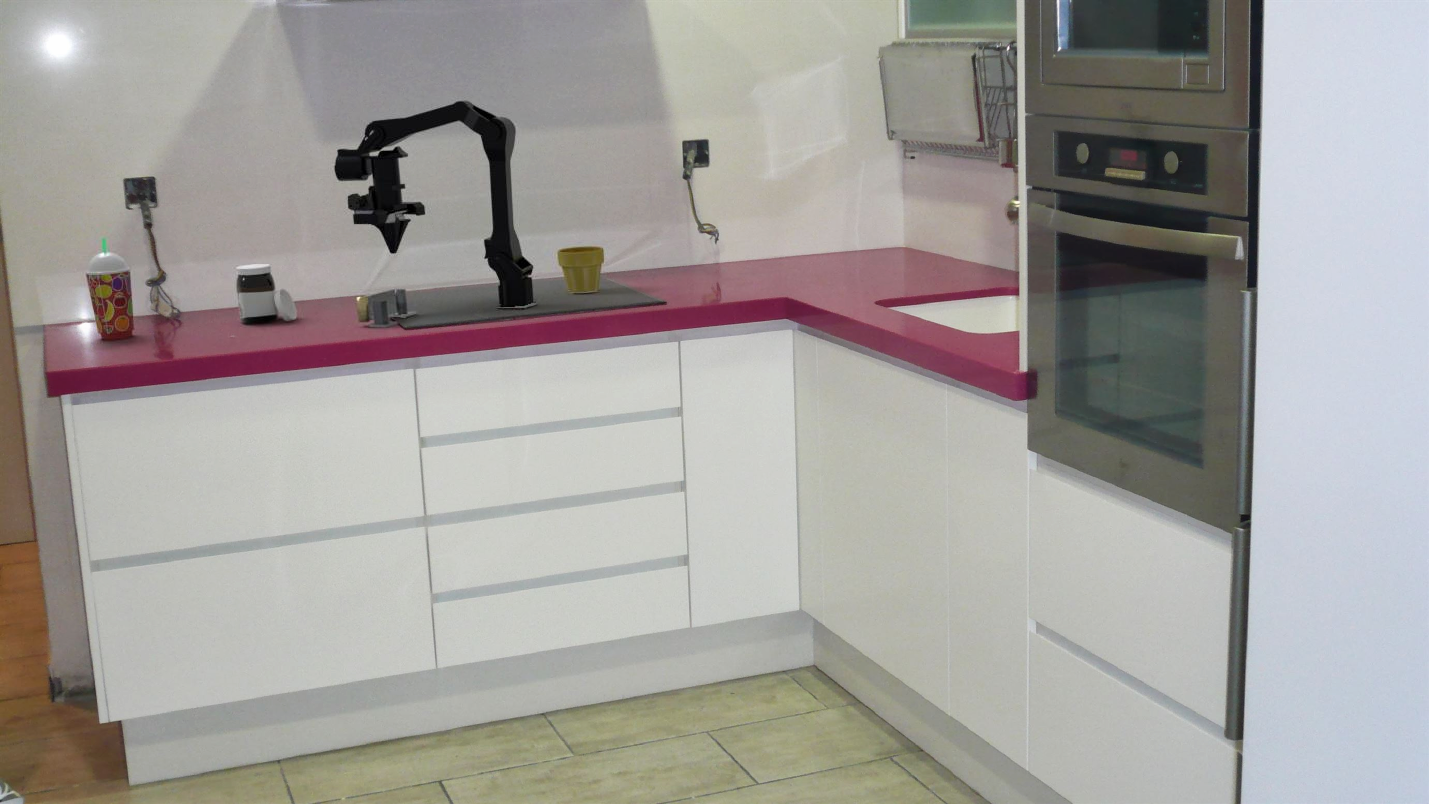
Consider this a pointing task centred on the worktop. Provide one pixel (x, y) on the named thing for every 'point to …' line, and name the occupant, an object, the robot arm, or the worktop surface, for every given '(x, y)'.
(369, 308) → the gate
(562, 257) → the plant pot
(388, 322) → the post
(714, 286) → the worktop surface
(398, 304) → the hinge post
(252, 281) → the spread jar
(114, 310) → the smoothie
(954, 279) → the worktop surface
